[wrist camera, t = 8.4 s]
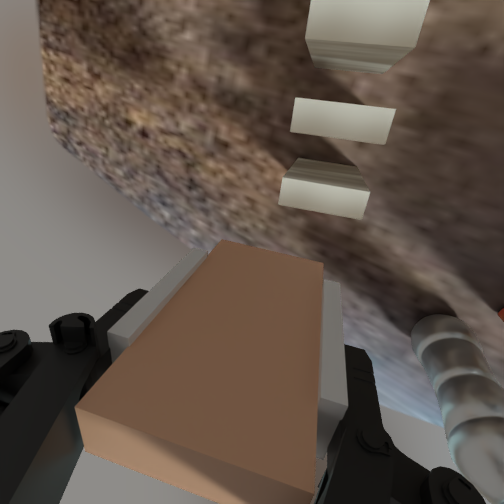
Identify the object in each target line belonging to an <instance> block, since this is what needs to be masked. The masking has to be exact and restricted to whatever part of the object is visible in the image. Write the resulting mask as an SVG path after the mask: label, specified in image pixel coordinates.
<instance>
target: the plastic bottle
mask: <svg viewBox="0 0 504 504" xmlns="http://www.w3.org/2000/svg"><path fill="white" fill-rule="evenodd" d="M411 344H412V349H413V351H414V353H415V355H416V356H417V358H418V360H419V362H420V363H421V365H422V366H423V367H424V369H425V371H426V373H427V375H428V377H429V380H430V382H431V384H432V386H433V388H434V391H435V394H436V397H437V400H438V404H439V407H440V410H441V413H442V418H443V423H444V428H445V434H446V438H447V444H448V448H449V451H450V455H451V459H452V461H453V462H454V464H455V465H456V467H457V469H458V470H459V471H460V473H461V475H462V476H464V477H465V478H466V479H467V480H468V481H469V482H471V483H472V484H473V485H474V487H475V488H476V489H477V490H478V492H479V493H480V494H481V495H482V496H483V497H484V498H485V499H487V500H488V501H489V502H490V503H491V504H504V390H503V388H502V387H501V385H500V384H499V382H498V381H497V379H496V378H495V376H494V374H493V372H492V370H491V368H490V366H489V364H488V362H487V360H486V358H485V356H484V353H483V349H482V346H481V344H480V342H479V339H478V337H477V335H476V334H475V333H474V331H473V330H472V329H471V328H470V327H469V326H468V325H467V324H466V323H464V322H463V321H462V320H460V319H458V318H456V317H453V316H449V315H443V314H435V315H430V316H426V317H424V318H422V319H421V320H419V321H418V322H417V323H416V325H415V326H414V327H413V329H412V332H411Z"/></svg>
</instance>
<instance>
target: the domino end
mask: <svg viewBox="0 0 504 504" xmlns="http://www.w3.org/2000/svg"><path fill="white" fill-rule="evenodd" d="M322 285H323V263H321V262H316V261H312V260H308V259H304V258H299V257H295V256H291V255H286V254H282V253H278V252H274V251H269V250H265V249H261V248H257V247H252V246H248V245H244V244H240V243H235V242H231V241H227V240H223V239H222V240H221V241H220V242H219V243H218V244H217V246H216V247H215V248H214V249H213V250H212V251H211V252H210V254H209V255H208V256H207V258H206V259H205V260H204V262H203V263H202V264H201V265H200V266H199V267H198V268H197V270H196V271H195V272H194V273H193V274H192V275H191V277H190V278H189V279H188V280H187V281H186V282H185V283H184V285H183V286H182V287H181V288H180V289H179V290H178V291H177V293H176V294H175V295H174V296H173V297H172V298H171V299H170V301H169V302H168V303H167V304H166V305H165V306H164V307H163V309H162V310H161V311H160V312H159V313H158V314H157V316H156V317H155V318H154V319H153V320H152V321H151V322H150V324H149V325H148V326H147V327H146V328H145V329H144V330H143V332H142V333H141V334H140V335H139V336H138V337H137V338H136V340H135V341H134V342H133V343H132V344H131V345H130V347H127V348H126V349H125V350H124V351H123V352H122V354H121V355H120V356H119V357H118V358H117V359H116V360H115V362H114V363H113V364H112V365H111V366H110V367H109V368H108V369H107V371H106V372H105V373H104V374H103V375H102V376H101V377H100V379H99V380H98V381H97V382H96V383H95V384H94V385H93V387H92V388H91V389H90V390H89V391H88V392H87V393H86V394H85V396H84V397H83V398H82V399H81V400H80V401H79V402H78V404H77V405H76V406H75V411H76V415H77V419H78V423H79V427H80V431H81V435H82V440H83V444H84V448H85V451H86V452H88V453H91V454H93V455H96V456H98V457H101V458H103V459H106V460H109V461H111V462H114V463H116V464H119V465H122V466H124V467H127V468H129V469H132V470H134V471H137V472H139V473H142V474H145V475H147V476H150V477H152V478H155V479H157V480H160V481H163V482H165V483H168V484H170V485H173V486H176V487H178V488H181V489H183V490H186V491H188V492H191V493H194V494H196V495H199V496H201V497H204V498H206V499H209V500H212V501H214V502H217V503H219V504H310V502H311V500H312V498H313V496H314V493H315V466H316V442H317V416H318V406H317V405H318V381H319V356H320V332H321V308H322Z"/></svg>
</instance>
